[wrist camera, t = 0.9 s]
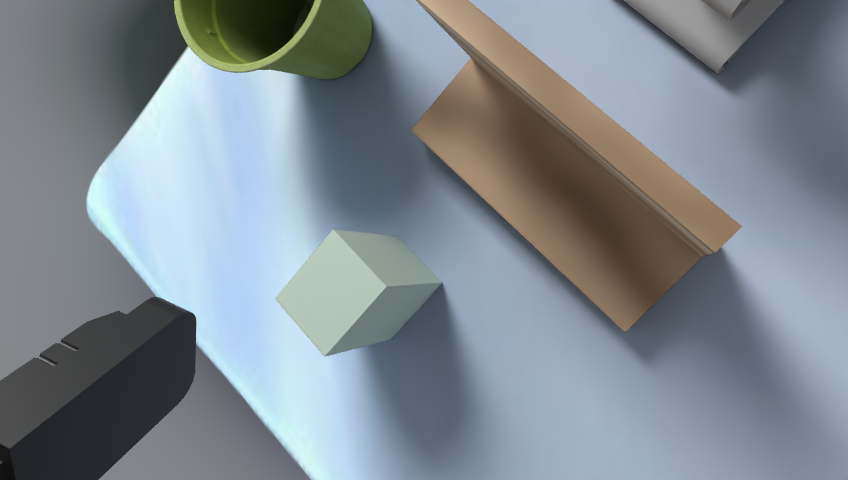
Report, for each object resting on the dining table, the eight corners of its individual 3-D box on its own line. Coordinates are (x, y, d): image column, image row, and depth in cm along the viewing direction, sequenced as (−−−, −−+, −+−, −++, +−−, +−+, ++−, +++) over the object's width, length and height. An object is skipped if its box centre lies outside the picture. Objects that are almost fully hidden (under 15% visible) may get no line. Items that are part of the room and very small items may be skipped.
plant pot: (256, -1, 54) (156, -65, 44) (380, -61, 50) (303, -148, 40) (286, 131, 53) (190, 98, 42) (416, 79, 49) (346, 28, 38)
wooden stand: (627, 328, 43) (606, 359, 29) (423, 136, 48) (322, 83, 34) (717, 240, 41) (742, 226, 27) (494, 51, 47) (419, -41, 33)
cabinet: (384, 346, 49) (316, 365, 39) (342, 300, 50) (267, 307, 41) (442, 282, 47) (386, 286, 38) (397, 236, 49) (333, 229, 39)
